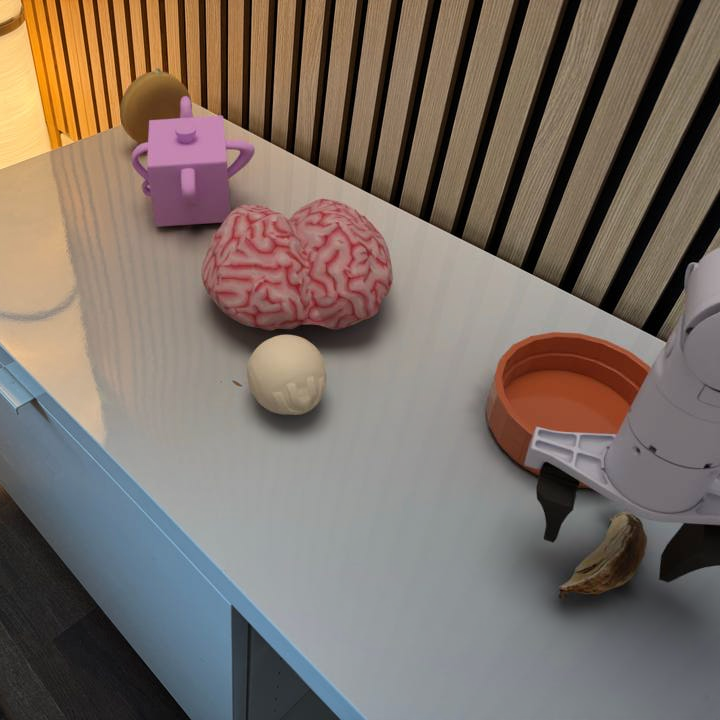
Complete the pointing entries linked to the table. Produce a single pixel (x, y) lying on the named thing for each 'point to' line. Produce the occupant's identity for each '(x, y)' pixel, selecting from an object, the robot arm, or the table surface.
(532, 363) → the bowl
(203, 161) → the teapot
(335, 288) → the brain
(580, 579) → the oyster shell
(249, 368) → the cream ball
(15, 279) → the table surface
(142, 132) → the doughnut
